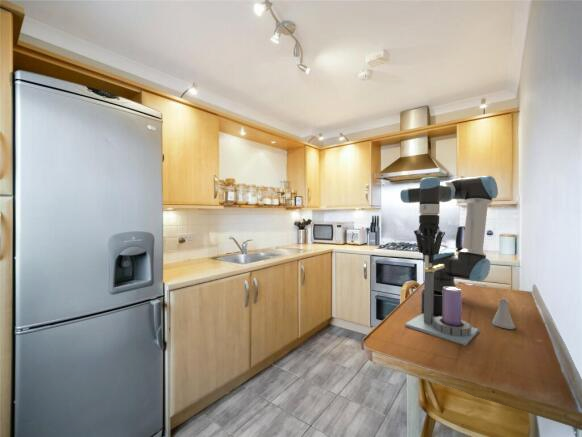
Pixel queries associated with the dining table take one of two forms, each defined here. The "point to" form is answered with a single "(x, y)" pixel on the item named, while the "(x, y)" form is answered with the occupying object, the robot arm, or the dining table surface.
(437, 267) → the lever
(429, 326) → the seat board
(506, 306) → the flask
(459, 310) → the beverage can
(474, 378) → the dining table surface
